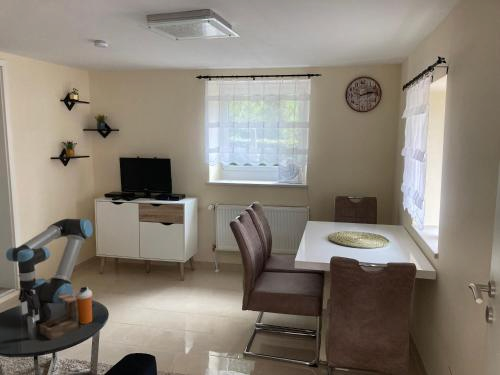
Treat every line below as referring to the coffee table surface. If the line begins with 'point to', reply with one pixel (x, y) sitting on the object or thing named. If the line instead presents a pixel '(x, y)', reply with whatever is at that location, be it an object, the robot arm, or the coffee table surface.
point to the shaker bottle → (84, 305)
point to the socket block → (62, 319)
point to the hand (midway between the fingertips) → (30, 316)
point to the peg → (31, 328)
